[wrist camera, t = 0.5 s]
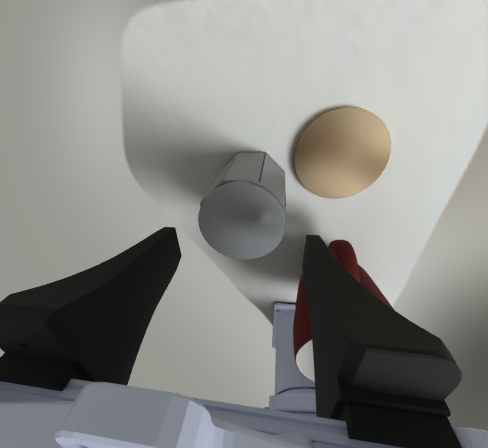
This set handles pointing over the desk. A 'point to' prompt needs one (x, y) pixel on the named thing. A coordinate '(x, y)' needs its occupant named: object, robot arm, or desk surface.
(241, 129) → the desk surface
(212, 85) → the desk surface
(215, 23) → the desk surface
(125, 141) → the desk surface
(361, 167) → the tan round coaster
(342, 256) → the mug
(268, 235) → the faceted grey cylinder
